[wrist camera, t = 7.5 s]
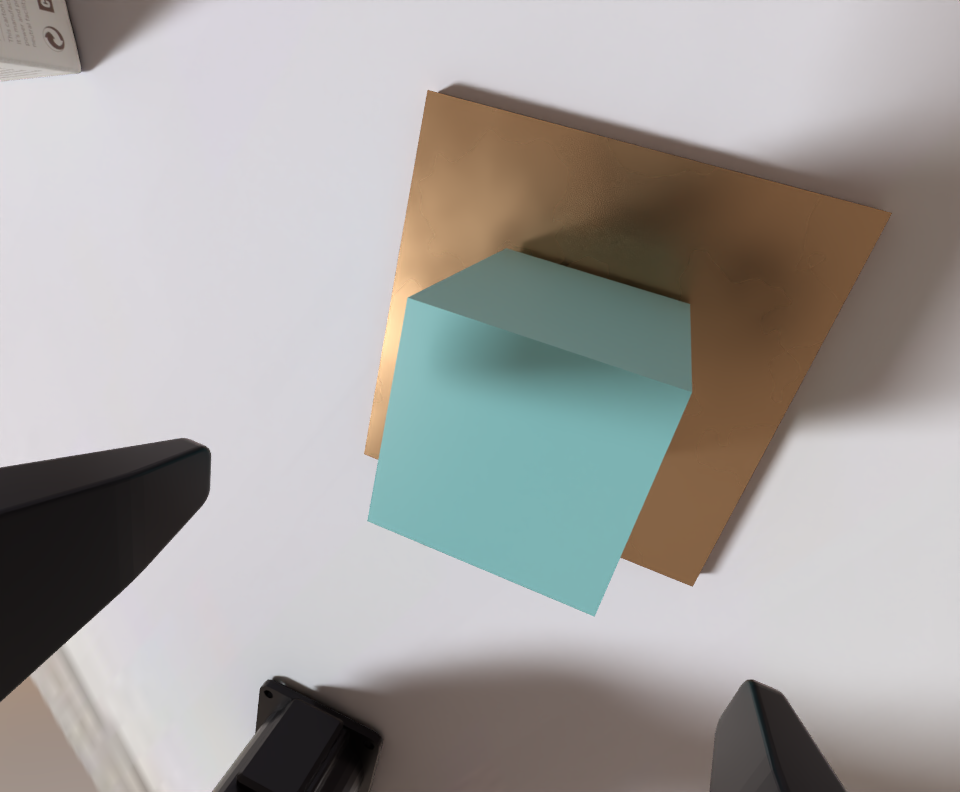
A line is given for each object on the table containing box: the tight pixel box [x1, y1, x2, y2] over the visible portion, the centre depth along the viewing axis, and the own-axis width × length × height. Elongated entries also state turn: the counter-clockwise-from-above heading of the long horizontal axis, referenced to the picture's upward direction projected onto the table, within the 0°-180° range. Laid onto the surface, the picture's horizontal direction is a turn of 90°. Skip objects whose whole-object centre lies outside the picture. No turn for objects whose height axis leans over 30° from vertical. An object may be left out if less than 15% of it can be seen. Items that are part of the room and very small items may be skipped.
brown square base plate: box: [364, 90, 892, 587], centre depth 15 cm, size 12×12×7 cm
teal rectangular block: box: [368, 248, 692, 617], centre depth 14 cm, size 5×5×7 cm
